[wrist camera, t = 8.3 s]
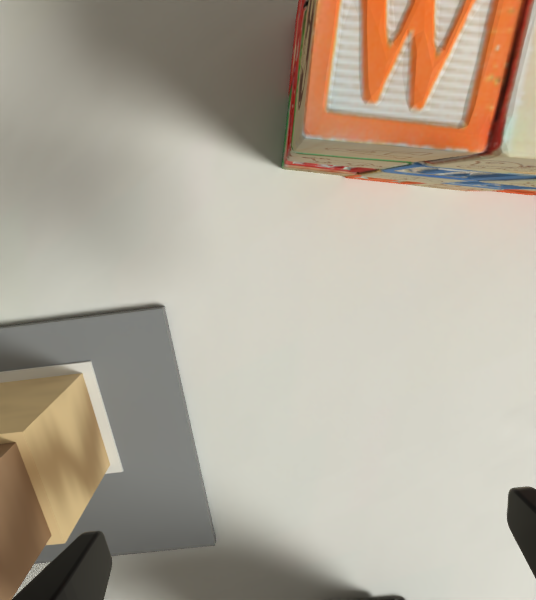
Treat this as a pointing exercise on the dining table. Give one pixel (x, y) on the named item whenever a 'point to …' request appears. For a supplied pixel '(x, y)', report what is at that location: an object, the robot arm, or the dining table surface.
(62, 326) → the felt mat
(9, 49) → the dining table surface
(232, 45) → the dining table surface
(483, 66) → the stack of blocks
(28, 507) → the walnut cube
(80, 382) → the oak base block
